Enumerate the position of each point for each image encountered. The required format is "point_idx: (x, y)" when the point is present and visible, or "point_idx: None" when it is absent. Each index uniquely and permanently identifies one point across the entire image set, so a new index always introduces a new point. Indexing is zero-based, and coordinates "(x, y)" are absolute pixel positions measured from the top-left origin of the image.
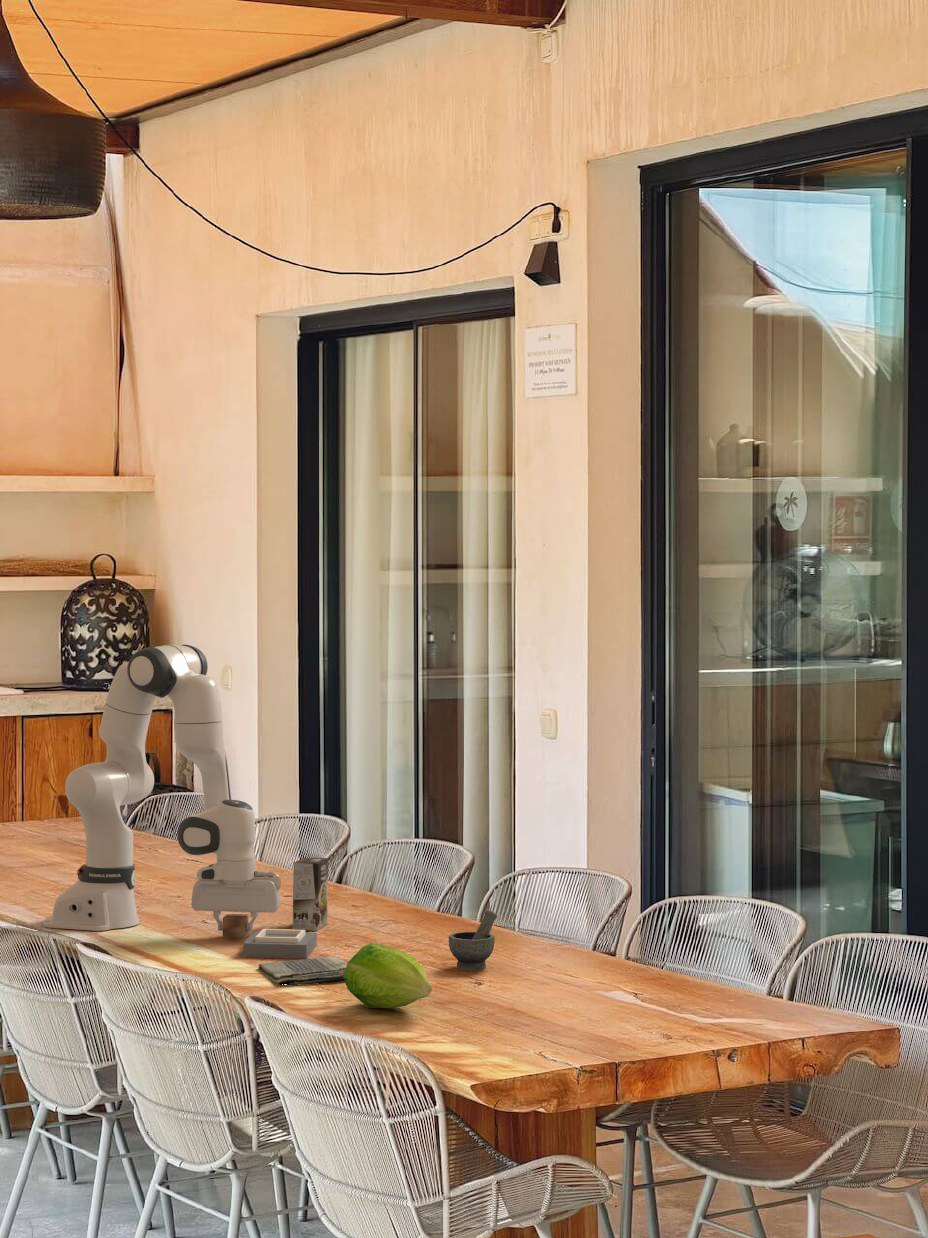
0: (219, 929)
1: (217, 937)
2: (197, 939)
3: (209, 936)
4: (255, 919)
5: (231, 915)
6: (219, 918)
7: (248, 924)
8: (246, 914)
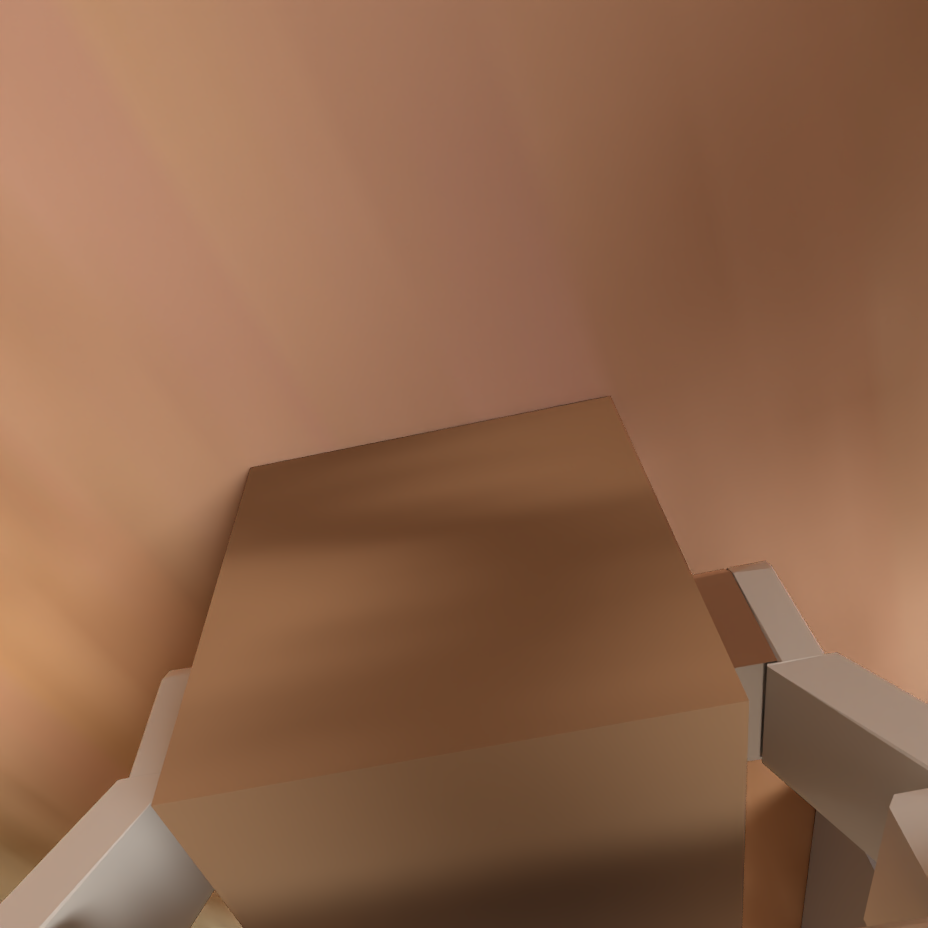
0: None
1: (202, 615)
2: (50, 766)
3: (48, 598)
4: (916, 706)
5: (371, 892)
6: (144, 892)
7: (749, 754)
8: (699, 731)
